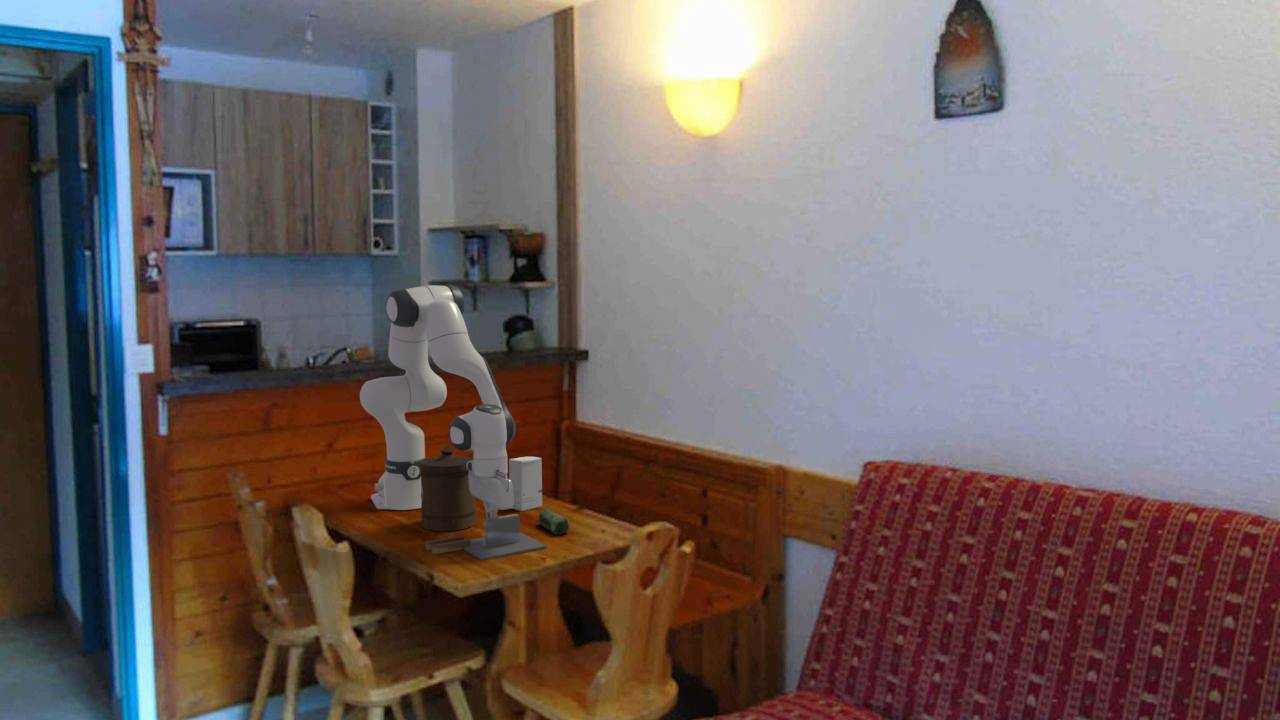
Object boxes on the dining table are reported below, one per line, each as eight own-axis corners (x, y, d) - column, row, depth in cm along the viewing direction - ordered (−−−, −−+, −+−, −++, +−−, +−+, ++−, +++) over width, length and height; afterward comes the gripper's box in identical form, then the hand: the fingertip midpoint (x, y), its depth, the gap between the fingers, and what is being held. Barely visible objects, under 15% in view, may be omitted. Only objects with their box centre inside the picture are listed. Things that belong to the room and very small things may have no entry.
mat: (455, 544, 260) (455, 542, 260) (518, 533, 270) (518, 531, 270) (481, 560, 247) (481, 558, 246) (546, 548, 256) (546, 545, 256)
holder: (425, 549, 256) (425, 541, 256) (461, 542, 262) (461, 535, 261) (433, 554, 251) (433, 546, 251) (470, 547, 257) (470, 540, 257)
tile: (484, 545, 257) (484, 519, 256) (516, 539, 262) (515, 513, 261) (488, 547, 255) (487, 520, 254) (519, 541, 260) (519, 515, 259)
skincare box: (521, 511, 291) (520, 461, 290) (508, 508, 295) (507, 458, 294) (543, 506, 297) (542, 457, 296) (530, 502, 301) (529, 454, 300)
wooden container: (444, 514, 289) (442, 439, 286) (486, 521, 282) (484, 444, 279) (410, 527, 276) (408, 449, 273) (453, 534, 269) (451, 454, 266)
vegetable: (572, 534, 269) (572, 516, 268) (555, 537, 266) (554, 519, 266) (551, 522, 281) (551, 505, 280) (534, 525, 278) (534, 507, 278)
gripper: (519, 472, 253) (520, 526, 255) (485, 459, 270) (486, 508, 272) (496, 476, 250) (497, 530, 251) (463, 461, 267) (465, 512, 268)
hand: (491, 519), depth 262 cm, fingers closed
